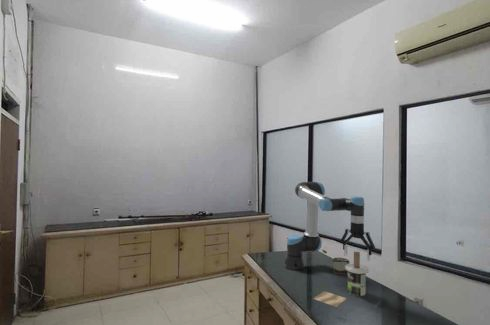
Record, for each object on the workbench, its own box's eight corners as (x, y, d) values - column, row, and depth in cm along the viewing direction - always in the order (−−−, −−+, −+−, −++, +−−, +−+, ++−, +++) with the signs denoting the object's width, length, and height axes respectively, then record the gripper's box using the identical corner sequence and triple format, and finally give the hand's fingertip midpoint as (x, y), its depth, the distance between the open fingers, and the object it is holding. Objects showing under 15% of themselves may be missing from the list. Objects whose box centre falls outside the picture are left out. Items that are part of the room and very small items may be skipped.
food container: (347, 271, 206) (347, 257, 207) (349, 274, 200) (349, 260, 200) (330, 270, 208) (330, 256, 208) (331, 273, 201) (332, 259, 202)
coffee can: (352, 297, 164) (352, 273, 164) (344, 290, 174) (344, 267, 174) (369, 297, 164) (369, 272, 165) (360, 289, 175) (360, 266, 175)
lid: (341, 269, 169) (341, 252, 169) (350, 264, 179) (350, 248, 179) (363, 275, 160) (364, 257, 161) (371, 269, 170) (371, 252, 170)
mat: (312, 299, 160) (312, 298, 160) (324, 292, 170) (324, 291, 170) (336, 308, 150) (336, 306, 150) (346, 299, 161) (346, 298, 161)
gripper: (334, 220, 176) (334, 254, 175) (377, 226, 159) (376, 264, 159) (339, 219, 181) (339, 252, 181) (381, 224, 165) (380, 261, 164)
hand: (356, 257), depth 170 cm, fingers open, 13 cm apart
